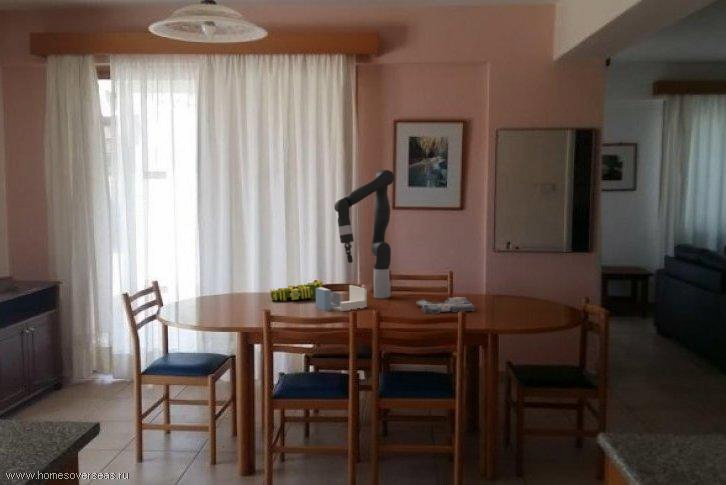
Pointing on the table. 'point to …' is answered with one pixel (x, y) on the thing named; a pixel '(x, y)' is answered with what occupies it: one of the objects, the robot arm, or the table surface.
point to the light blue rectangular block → (323, 299)
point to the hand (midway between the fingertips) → (350, 262)
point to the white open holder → (351, 299)
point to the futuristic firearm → (446, 305)
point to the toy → (296, 292)
